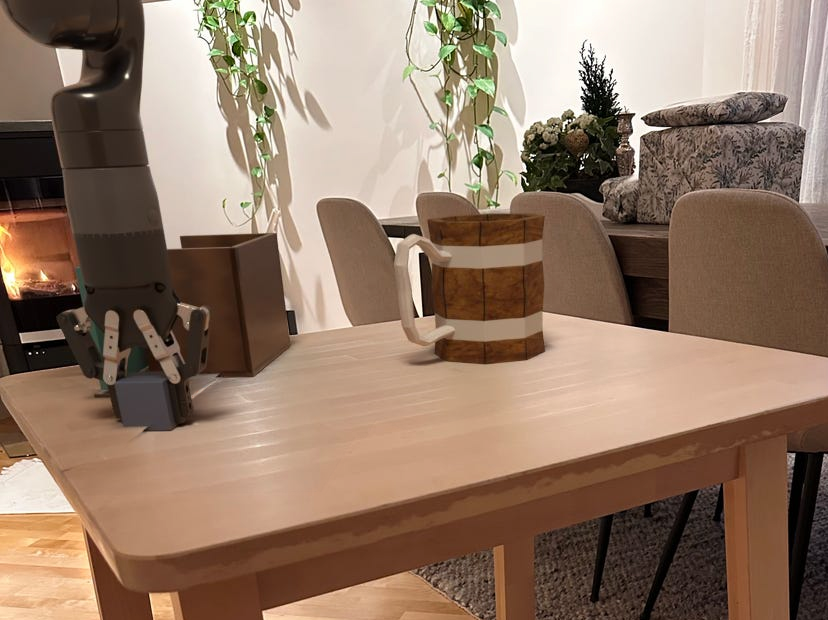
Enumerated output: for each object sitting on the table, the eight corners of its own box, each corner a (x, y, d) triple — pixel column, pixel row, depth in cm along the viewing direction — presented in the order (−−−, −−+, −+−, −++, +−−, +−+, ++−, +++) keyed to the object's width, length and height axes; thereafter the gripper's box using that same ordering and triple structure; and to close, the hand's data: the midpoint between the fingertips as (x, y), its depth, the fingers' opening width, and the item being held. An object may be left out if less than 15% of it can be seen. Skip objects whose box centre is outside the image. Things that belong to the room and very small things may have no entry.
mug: (494, 337, 124) (491, 211, 117) (568, 350, 114) (569, 215, 107) (370, 361, 113) (358, 224, 106) (440, 378, 104) (432, 229, 97)
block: (124, 431, 88) (113, 382, 86) (142, 418, 92) (132, 371, 90) (171, 430, 88) (162, 381, 86) (187, 418, 92) (178, 370, 90)
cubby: (95, 401, 99) (64, 262, 93) (185, 348, 124) (165, 236, 118) (226, 399, 98) (204, 258, 92) (290, 346, 123) (276, 232, 117)
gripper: (212, 220, 85) (240, 410, 93) (57, 224, 86) (98, 413, 93) (184, 227, 78) (217, 431, 86) (16, 232, 79) (65, 434, 87)
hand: (155, 421), depth 90 cm, fingers closed on block, 4 cm apart
